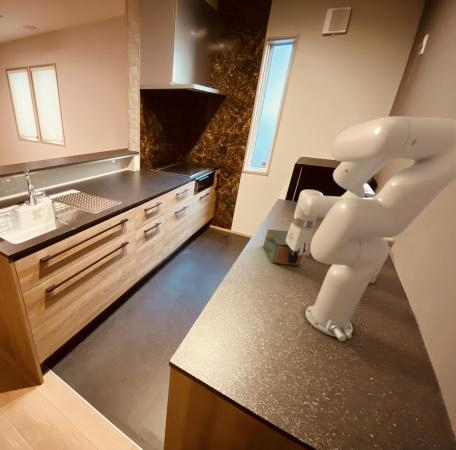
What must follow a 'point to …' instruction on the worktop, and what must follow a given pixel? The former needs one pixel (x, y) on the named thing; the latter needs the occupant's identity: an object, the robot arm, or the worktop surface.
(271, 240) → the green drawer chest
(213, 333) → the worktop surface
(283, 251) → the wooden drawer box
